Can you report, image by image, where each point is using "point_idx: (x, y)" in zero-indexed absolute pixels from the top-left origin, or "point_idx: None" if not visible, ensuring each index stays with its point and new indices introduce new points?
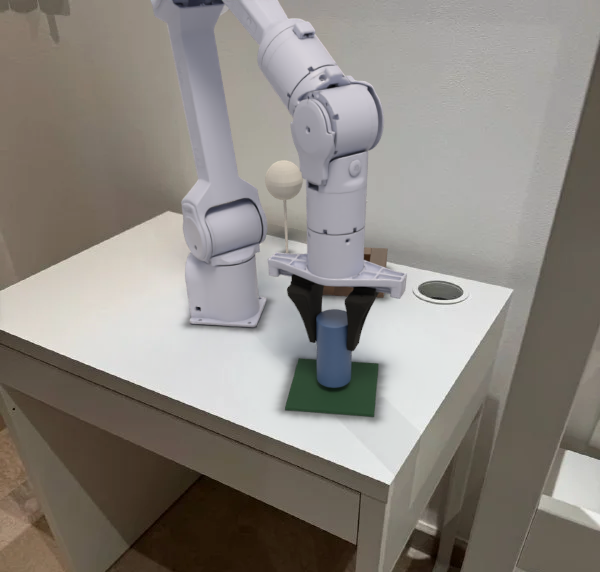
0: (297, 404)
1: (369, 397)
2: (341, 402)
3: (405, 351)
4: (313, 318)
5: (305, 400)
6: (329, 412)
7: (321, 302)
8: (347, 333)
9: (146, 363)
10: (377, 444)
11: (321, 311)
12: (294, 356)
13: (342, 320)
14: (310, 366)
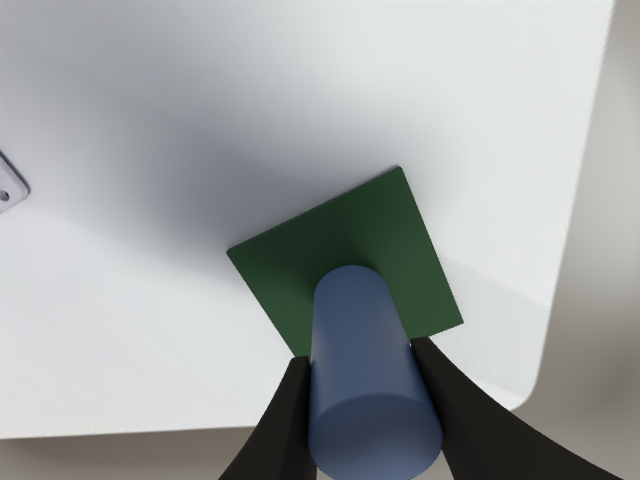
0: None
1: (435, 287)
2: None
3: (438, 54)
4: (310, 470)
5: None
6: None
7: (289, 442)
8: (441, 448)
9: (10, 399)
10: (491, 367)
11: (296, 412)
12: (207, 240)
13: (409, 444)
14: (269, 264)
